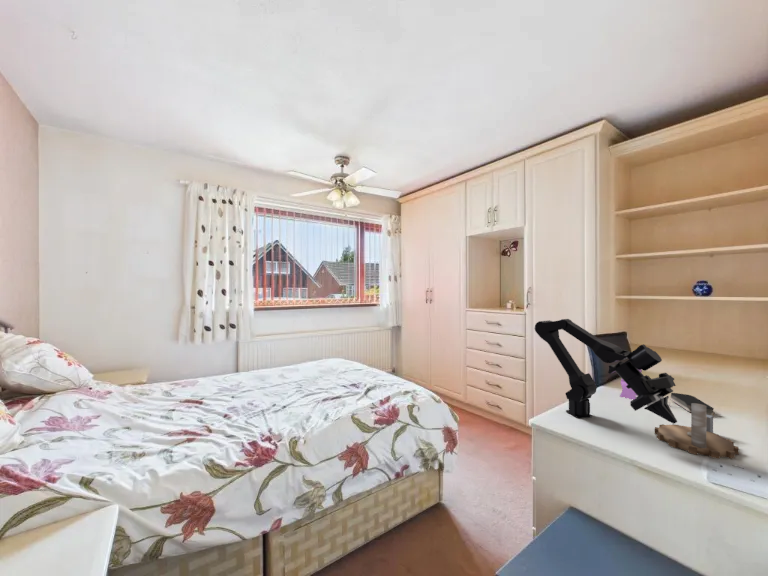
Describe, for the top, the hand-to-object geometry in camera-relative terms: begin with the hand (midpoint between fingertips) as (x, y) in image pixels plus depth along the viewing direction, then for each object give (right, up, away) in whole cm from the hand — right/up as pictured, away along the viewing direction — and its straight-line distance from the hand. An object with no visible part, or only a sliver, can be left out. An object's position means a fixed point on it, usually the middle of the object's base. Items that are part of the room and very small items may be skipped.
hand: (675, 422), depth 99 cm
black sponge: (+34, -7, +31) cm, 46 cm away
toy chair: (+20, -7, +44) cm, 49 cm away
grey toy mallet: (+16, -7, +7) cm, 19 cm away
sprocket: (+7, -7, +2) cm, 10 cm away
